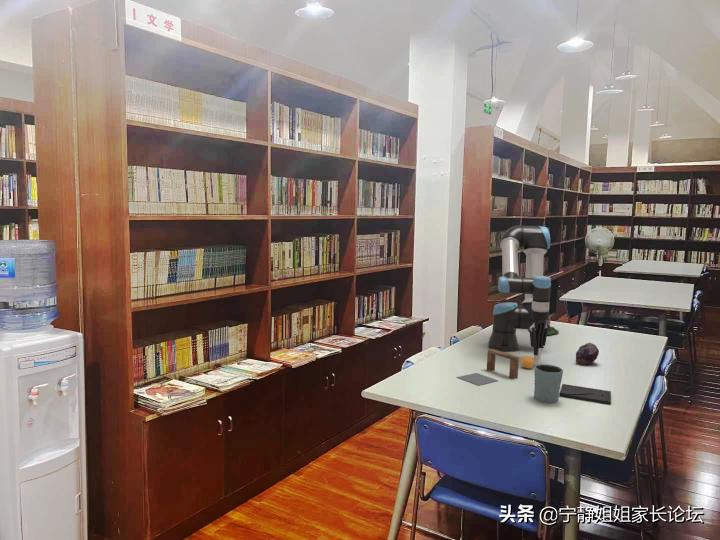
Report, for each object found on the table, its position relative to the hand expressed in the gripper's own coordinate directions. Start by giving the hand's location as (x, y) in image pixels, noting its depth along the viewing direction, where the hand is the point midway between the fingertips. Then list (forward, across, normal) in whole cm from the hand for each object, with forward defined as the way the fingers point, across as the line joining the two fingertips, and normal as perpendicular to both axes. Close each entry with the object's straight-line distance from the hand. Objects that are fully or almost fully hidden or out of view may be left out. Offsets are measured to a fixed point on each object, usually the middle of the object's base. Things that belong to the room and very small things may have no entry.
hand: (536, 361), depth 243 cm
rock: (+2, +26, -9) cm, 27 cm away
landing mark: (+2, -38, +1) cm, 38 cm away
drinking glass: (+3, -34, -29) cm, 45 cm away
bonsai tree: (+2, +59, +43) cm, 73 cm away
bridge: (+2, -23, +1) cm, 23 cm away
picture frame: (+4, -17, -34) cm, 38 cm away
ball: (0, -6, 0) cm, 6 cm away
